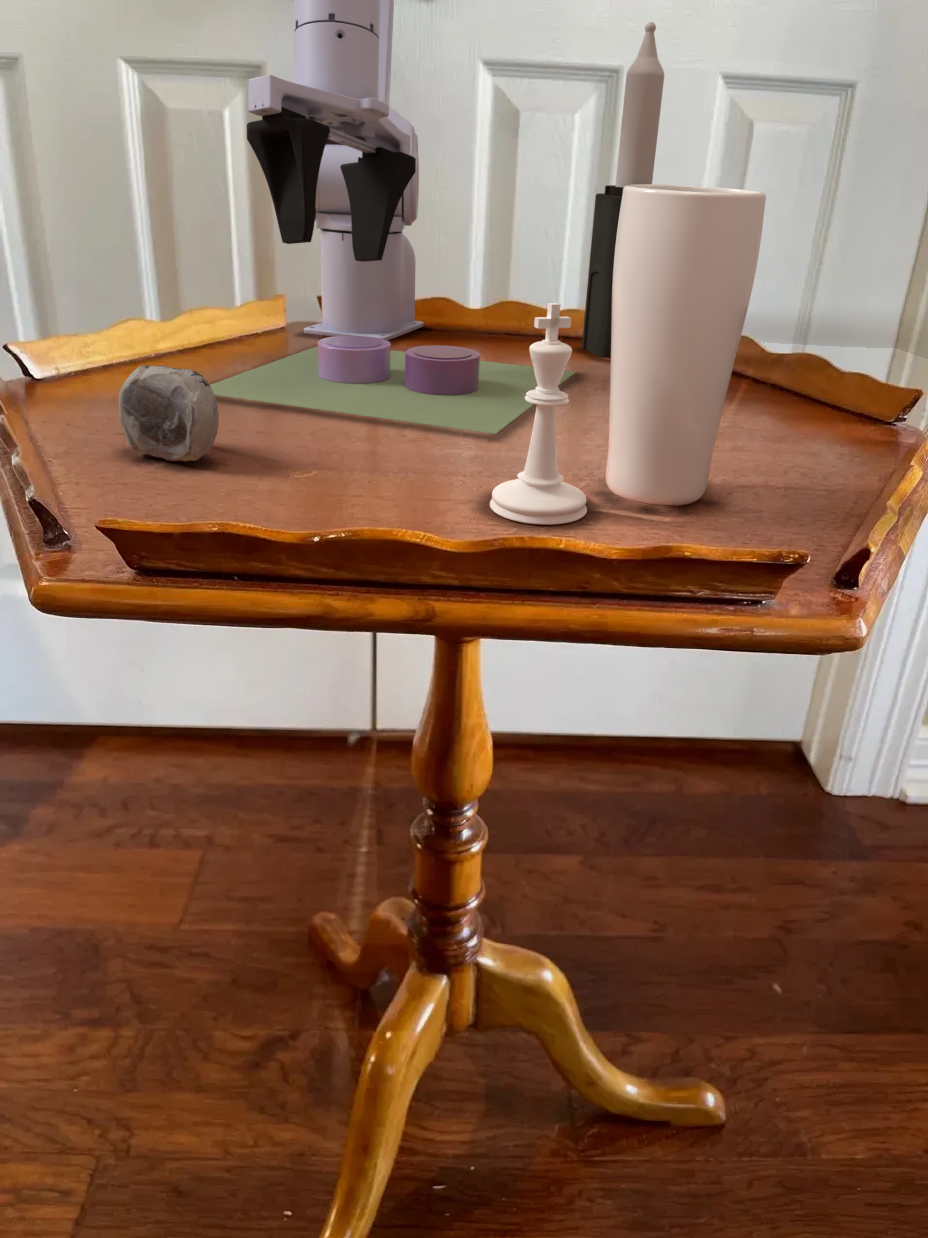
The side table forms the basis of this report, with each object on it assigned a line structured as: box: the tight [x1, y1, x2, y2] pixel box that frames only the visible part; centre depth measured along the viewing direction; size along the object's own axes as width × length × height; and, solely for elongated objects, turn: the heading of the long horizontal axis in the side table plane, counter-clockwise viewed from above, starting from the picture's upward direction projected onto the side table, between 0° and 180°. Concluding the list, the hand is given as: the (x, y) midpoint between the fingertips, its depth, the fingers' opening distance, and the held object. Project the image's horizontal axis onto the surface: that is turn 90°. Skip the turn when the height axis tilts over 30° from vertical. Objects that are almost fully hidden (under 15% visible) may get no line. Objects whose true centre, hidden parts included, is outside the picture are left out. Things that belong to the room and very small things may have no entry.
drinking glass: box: [604, 183, 767, 507], centre depth 50 cm, size 7×7×15 cm
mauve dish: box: [404, 344, 481, 395], centre depth 71 cm, size 5×5×2 cm
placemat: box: [209, 345, 577, 435], centre depth 73 cm, size 20×22×1 cm
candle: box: [581, 21, 665, 359], centre depth 81 cm, size 5×5×25 cm
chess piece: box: [489, 302, 588, 526], centre depth 48 cm, size 5×5×10 cm
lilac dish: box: [316, 336, 392, 384], centre depth 73 cm, size 5×5×2 cm
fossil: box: [118, 364, 220, 462], centre depth 54 cm, size 6×3×5 cm, turn 68°
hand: (334, 251), depth 69 cm, fingers open, 7 cm apart
